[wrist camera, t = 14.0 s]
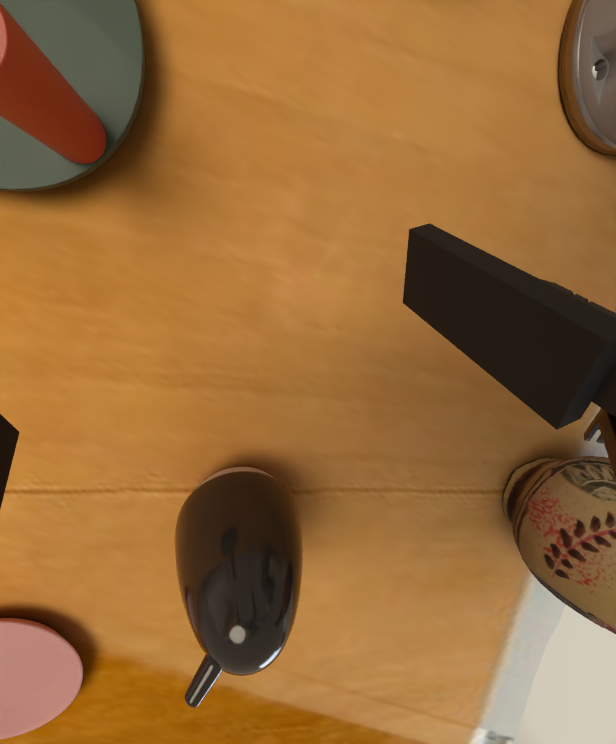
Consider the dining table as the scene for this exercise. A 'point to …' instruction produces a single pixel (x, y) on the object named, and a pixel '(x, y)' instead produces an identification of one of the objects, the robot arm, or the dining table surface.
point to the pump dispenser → (238, 572)
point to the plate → (34, 675)
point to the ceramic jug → (568, 531)
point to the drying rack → (66, 87)
